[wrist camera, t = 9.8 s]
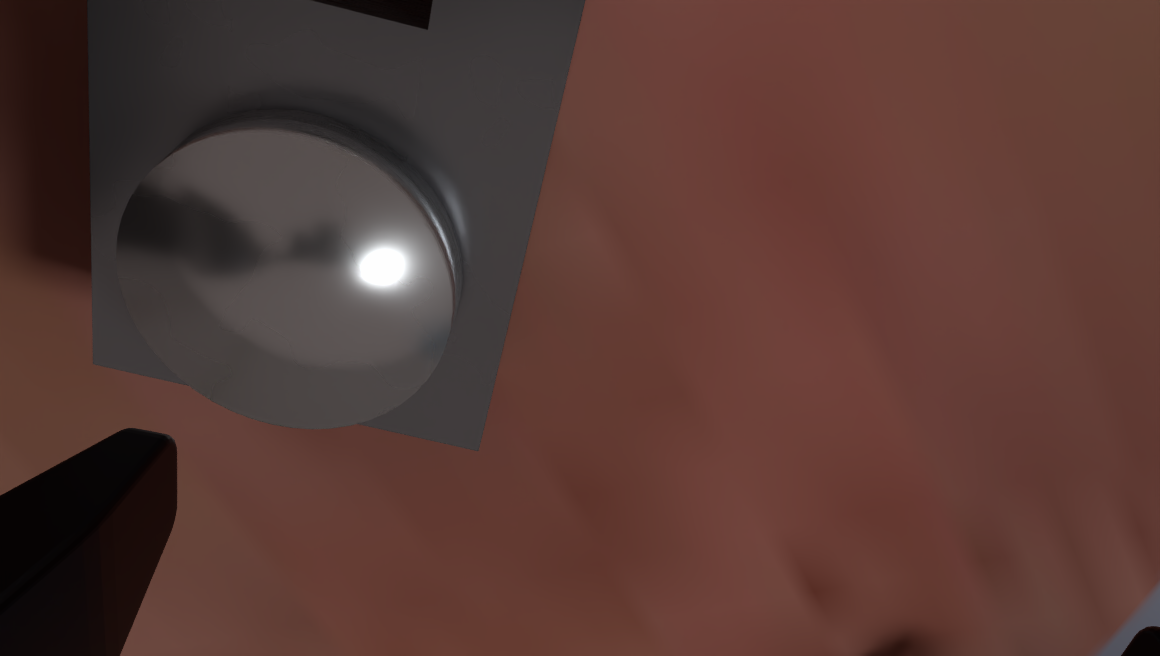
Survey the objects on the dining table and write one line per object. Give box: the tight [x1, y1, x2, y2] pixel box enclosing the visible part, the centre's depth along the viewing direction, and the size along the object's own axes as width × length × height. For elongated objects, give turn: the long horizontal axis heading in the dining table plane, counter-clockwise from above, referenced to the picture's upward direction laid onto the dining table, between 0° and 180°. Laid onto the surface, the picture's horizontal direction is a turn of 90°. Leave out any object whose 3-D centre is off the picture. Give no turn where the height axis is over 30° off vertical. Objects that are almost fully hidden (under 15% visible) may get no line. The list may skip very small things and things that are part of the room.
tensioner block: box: [87, 0, 585, 451], centre depth 18 cm, size 8×14×4 cm, turn 167°
